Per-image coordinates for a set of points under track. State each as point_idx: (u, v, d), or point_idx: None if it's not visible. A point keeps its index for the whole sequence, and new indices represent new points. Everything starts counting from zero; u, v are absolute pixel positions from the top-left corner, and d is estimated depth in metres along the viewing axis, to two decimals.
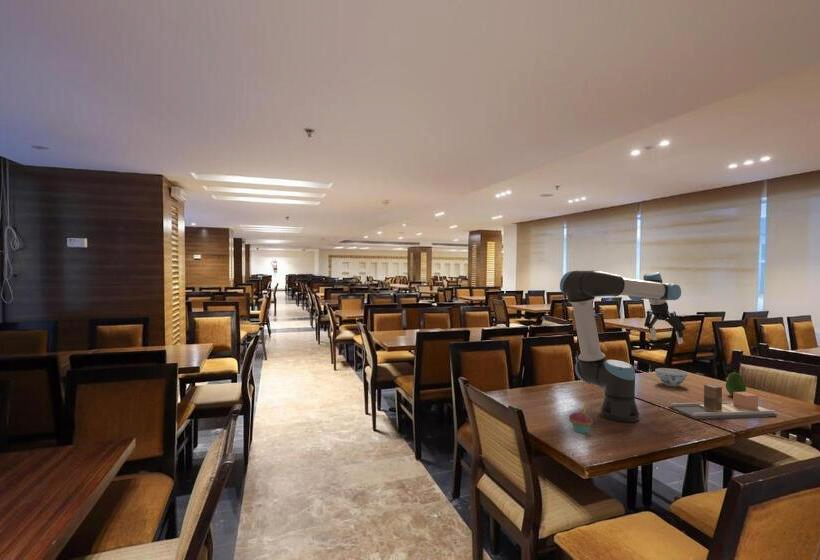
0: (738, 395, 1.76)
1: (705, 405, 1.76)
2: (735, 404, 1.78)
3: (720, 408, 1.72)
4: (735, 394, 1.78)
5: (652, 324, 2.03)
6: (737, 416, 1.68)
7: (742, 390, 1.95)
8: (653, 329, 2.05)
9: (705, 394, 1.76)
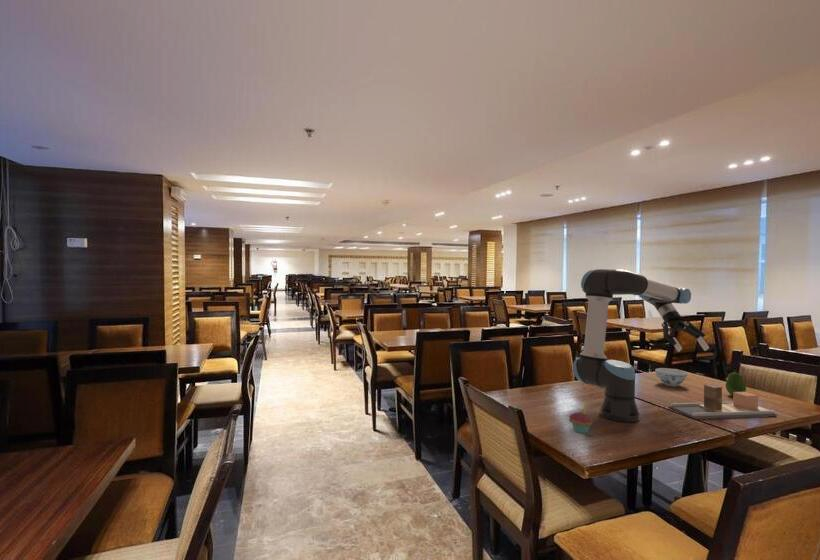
0: (738, 395, 1.76)
1: (705, 405, 1.76)
2: (735, 404, 1.78)
3: (720, 408, 1.72)
4: (735, 394, 1.78)
5: None
6: (737, 416, 1.68)
7: (742, 390, 1.95)
8: None
9: (705, 394, 1.76)
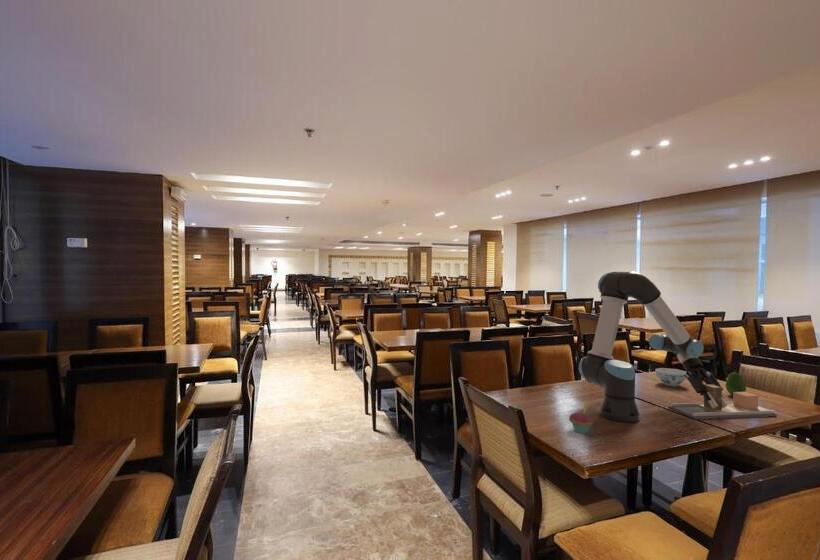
0: (738, 395, 1.76)
1: (705, 405, 1.76)
2: (735, 404, 1.78)
3: (720, 408, 1.72)
4: (735, 394, 1.78)
5: (703, 386, 1.77)
6: (737, 416, 1.68)
7: (742, 390, 1.95)
8: None
9: None
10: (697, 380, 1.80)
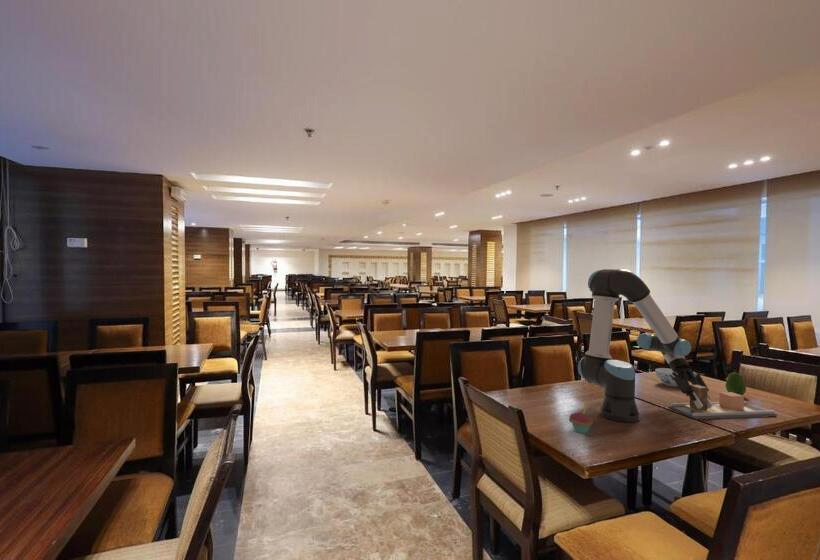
0: (724, 395, 1.75)
1: (691, 405, 1.75)
2: (721, 404, 1.77)
3: (706, 408, 1.72)
4: (721, 394, 1.77)
5: (689, 386, 1.76)
6: (737, 416, 1.68)
7: (742, 390, 1.95)
8: None
9: None
10: (683, 380, 1.79)
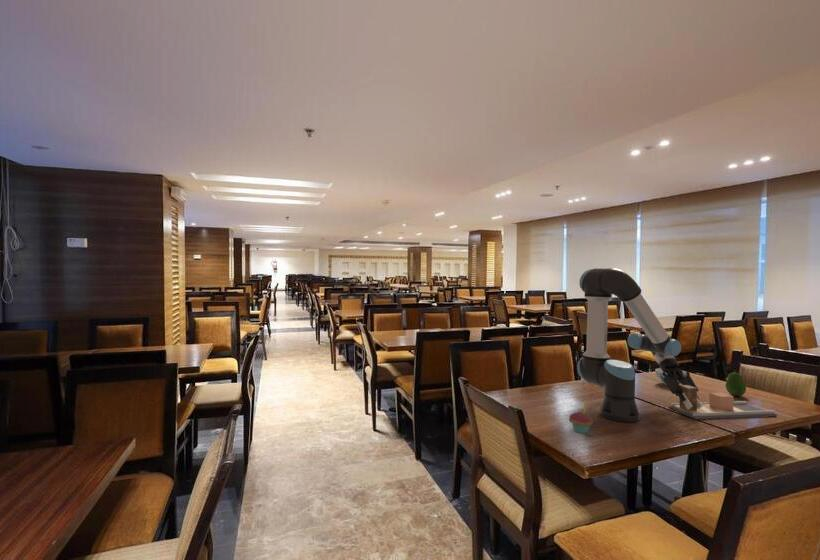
0: (714, 396, 1.75)
1: (680, 406, 1.75)
2: (711, 405, 1.77)
3: (695, 409, 1.71)
4: (711, 395, 1.77)
5: None
6: (737, 416, 1.68)
7: (742, 390, 1.95)
8: None
9: None
10: (673, 381, 1.78)
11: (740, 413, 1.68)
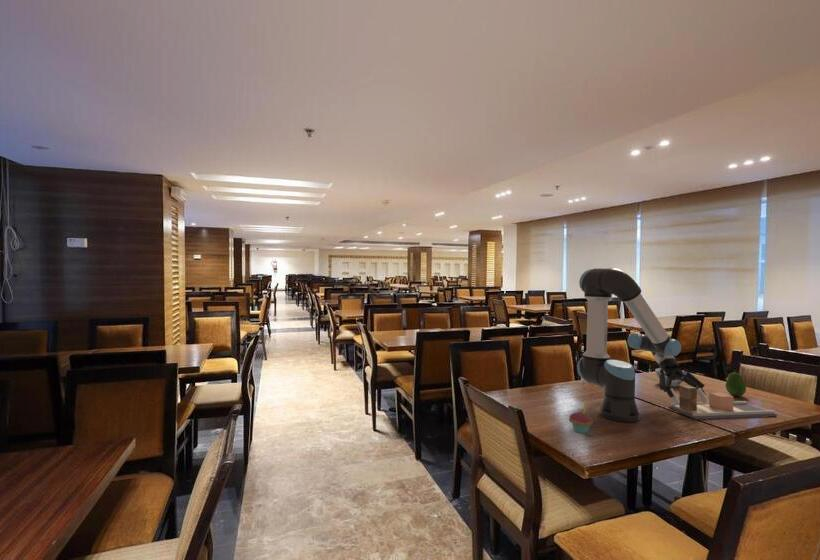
0: (714, 396, 1.75)
1: (680, 406, 1.75)
2: (711, 405, 1.77)
3: (695, 409, 1.71)
4: (711, 395, 1.76)
5: (670, 384, 1.76)
6: (737, 416, 1.68)
7: (742, 390, 1.95)
8: None
9: (680, 395, 1.75)
10: (668, 378, 1.79)
11: (740, 413, 1.68)
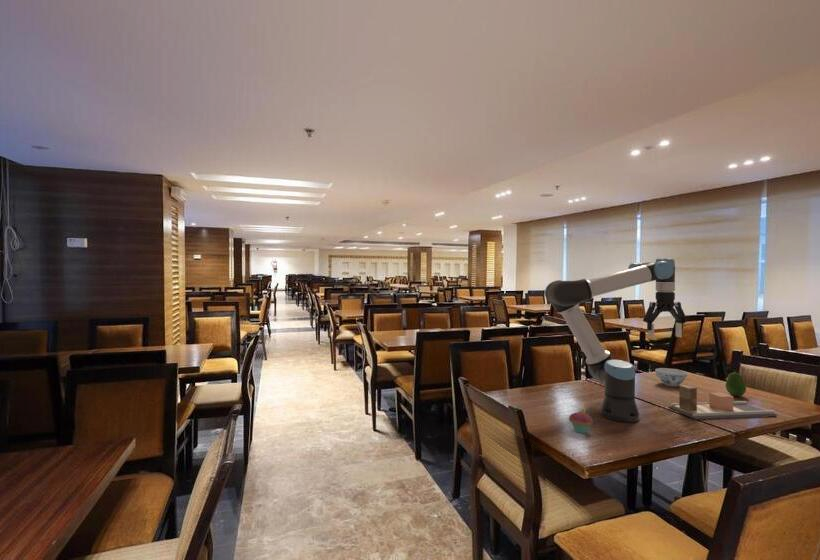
0: (714, 396, 1.75)
1: (680, 406, 1.75)
2: (711, 405, 1.77)
3: (695, 409, 1.71)
4: (711, 395, 1.76)
5: (654, 318, 1.80)
6: (737, 416, 1.68)
7: (742, 390, 1.95)
8: None
9: (680, 395, 1.75)
10: (656, 311, 1.80)
11: (740, 413, 1.68)
